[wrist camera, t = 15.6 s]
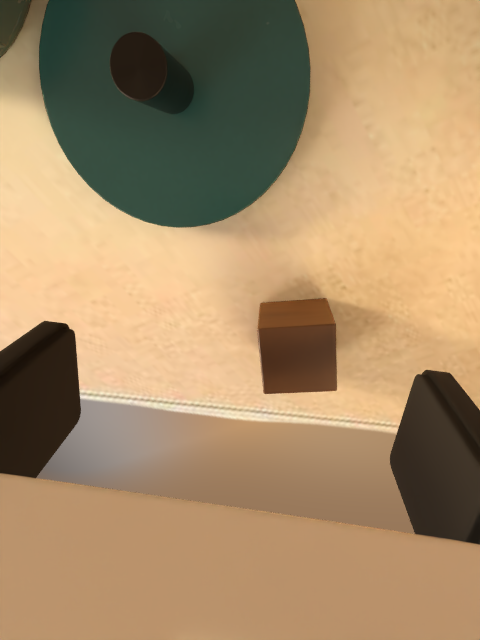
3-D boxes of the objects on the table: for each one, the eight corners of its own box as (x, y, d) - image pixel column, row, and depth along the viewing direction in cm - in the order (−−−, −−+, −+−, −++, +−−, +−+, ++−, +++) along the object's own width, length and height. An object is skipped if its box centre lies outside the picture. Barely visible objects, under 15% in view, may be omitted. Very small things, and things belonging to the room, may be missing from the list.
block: (328, 356, 27) (337, 391, 23) (265, 360, 28) (263, 394, 24) (326, 297, 26) (335, 323, 22) (260, 302, 26) (257, 328, 22)
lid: (313, 212, 24) (326, 232, 18) (87, 234, 26) (27, 259, 19) (302, -108, 18) (314, -241, 12) (15, -50, 20) (-101, -141, 14)
